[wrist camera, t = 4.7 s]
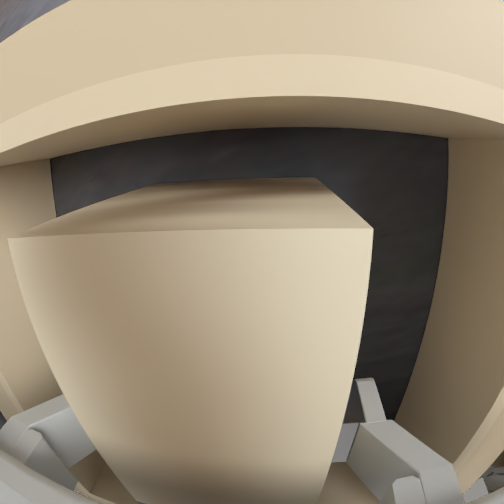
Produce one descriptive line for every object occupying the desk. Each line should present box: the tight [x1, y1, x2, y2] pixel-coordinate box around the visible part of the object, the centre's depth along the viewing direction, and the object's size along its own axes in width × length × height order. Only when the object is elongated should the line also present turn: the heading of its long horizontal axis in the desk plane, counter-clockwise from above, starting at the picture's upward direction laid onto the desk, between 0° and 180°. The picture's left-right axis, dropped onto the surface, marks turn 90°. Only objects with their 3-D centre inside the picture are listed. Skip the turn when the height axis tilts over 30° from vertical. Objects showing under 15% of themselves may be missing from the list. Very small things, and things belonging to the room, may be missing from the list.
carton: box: [0, 0, 504, 504], centre depth 8 cm, size 19×19×5 cm
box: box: [7, 177, 373, 504], centre depth 8 cm, size 5×11×6 cm, turn 2°
